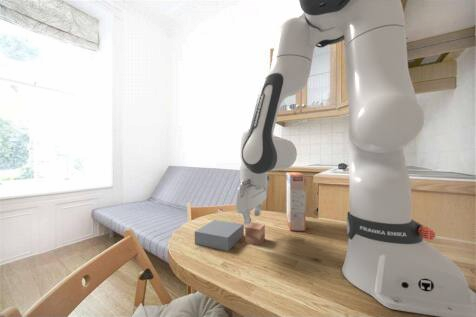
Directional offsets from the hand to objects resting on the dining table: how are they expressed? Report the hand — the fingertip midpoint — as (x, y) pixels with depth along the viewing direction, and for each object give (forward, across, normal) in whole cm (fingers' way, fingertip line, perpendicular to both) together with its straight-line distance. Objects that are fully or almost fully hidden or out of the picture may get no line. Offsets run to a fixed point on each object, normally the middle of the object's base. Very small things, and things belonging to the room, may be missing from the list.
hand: (252, 219), depth 64 cm
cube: (+7, 0, -1) cm, 7 cm away
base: (+7, -4, +10) cm, 13 cm away
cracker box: (+7, +20, -11) cm, 24 cm away
